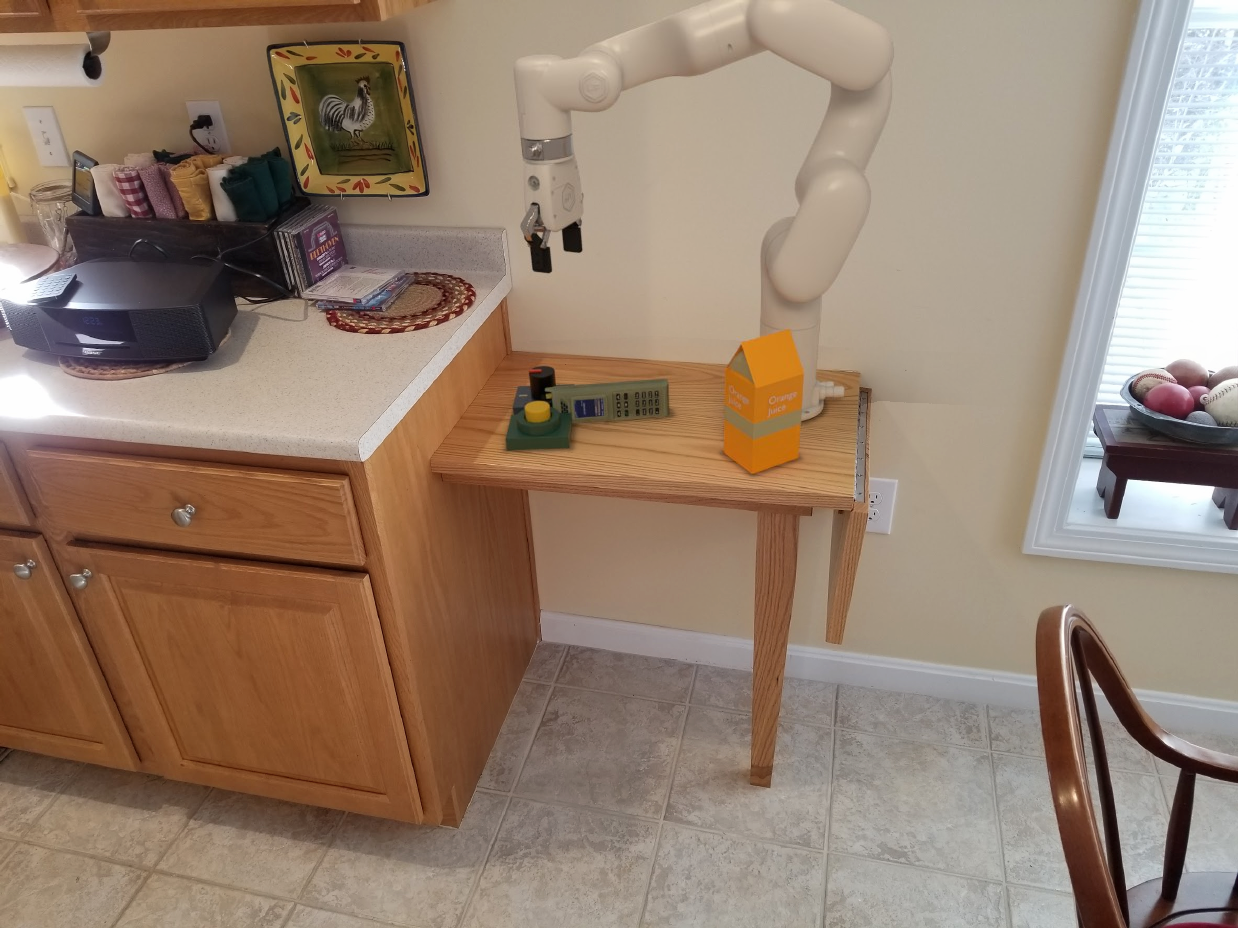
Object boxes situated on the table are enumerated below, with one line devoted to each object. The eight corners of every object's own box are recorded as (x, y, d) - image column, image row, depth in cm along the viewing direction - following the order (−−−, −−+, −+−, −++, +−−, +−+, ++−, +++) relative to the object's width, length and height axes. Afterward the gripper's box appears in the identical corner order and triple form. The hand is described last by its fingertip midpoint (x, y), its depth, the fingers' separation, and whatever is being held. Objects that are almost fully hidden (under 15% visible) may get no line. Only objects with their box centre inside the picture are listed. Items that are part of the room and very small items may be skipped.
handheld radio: (669, 420, 152) (521, 431, 151) (667, 411, 155) (521, 422, 154) (669, 384, 149) (516, 395, 148) (666, 376, 152) (517, 386, 151)
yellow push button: (551, 411, 148) (550, 400, 147) (549, 423, 145) (548, 412, 144) (527, 412, 148) (525, 401, 147) (524, 424, 145) (523, 412, 144)
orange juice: (722, 452, 141) (724, 333, 131) (769, 436, 145) (774, 320, 134) (752, 474, 136) (756, 352, 125) (799, 458, 139) (807, 337, 128)
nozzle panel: (575, 395, 160) (574, 382, 159) (572, 419, 153) (571, 405, 152) (519, 397, 161) (517, 384, 159) (513, 421, 153) (512, 407, 152)
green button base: (572, 424, 152) (570, 402, 149) (569, 448, 145) (567, 426, 143) (512, 426, 152) (510, 405, 150) (507, 450, 145) (504, 428, 143)
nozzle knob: (557, 388, 157) (555, 363, 155) (555, 400, 154) (553, 375, 151) (532, 389, 157) (529, 364, 155) (530, 401, 154) (527, 376, 151)
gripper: (540, 163, 124) (551, 283, 133) (597, 136, 137) (604, 246, 146) (493, 160, 127) (508, 277, 136) (554, 134, 140) (563, 242, 149)
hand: (558, 261), depth 141 cm, fingers open, 9 cm apart
